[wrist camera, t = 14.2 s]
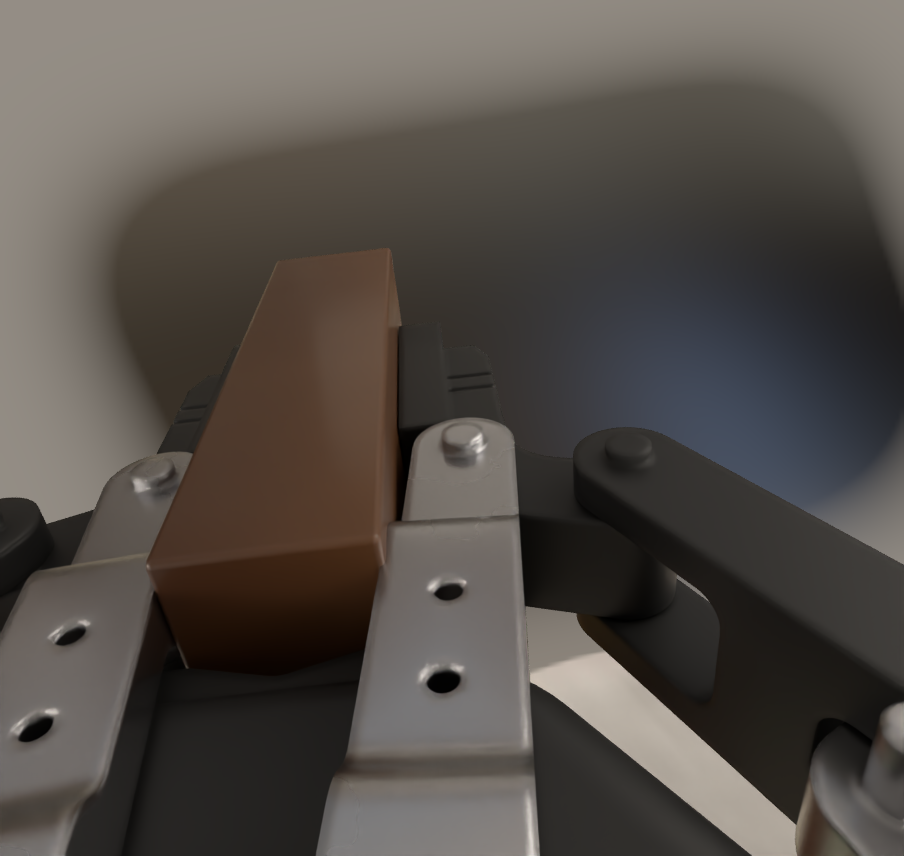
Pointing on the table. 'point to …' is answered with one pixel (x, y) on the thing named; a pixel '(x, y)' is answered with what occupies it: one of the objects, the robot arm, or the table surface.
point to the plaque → (291, 478)
